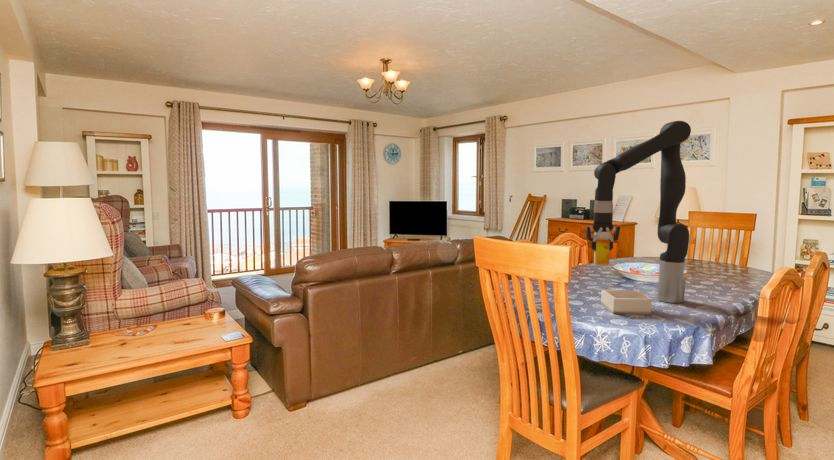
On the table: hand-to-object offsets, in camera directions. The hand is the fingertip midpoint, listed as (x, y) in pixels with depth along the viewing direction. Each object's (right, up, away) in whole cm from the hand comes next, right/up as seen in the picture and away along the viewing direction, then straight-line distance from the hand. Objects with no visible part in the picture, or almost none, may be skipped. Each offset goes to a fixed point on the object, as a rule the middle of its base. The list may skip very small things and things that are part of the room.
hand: (601, 250), depth 194 cm
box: (+4, -23, -13) cm, 27 cm away
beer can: (0, -7, +1) cm, 7 cm away
